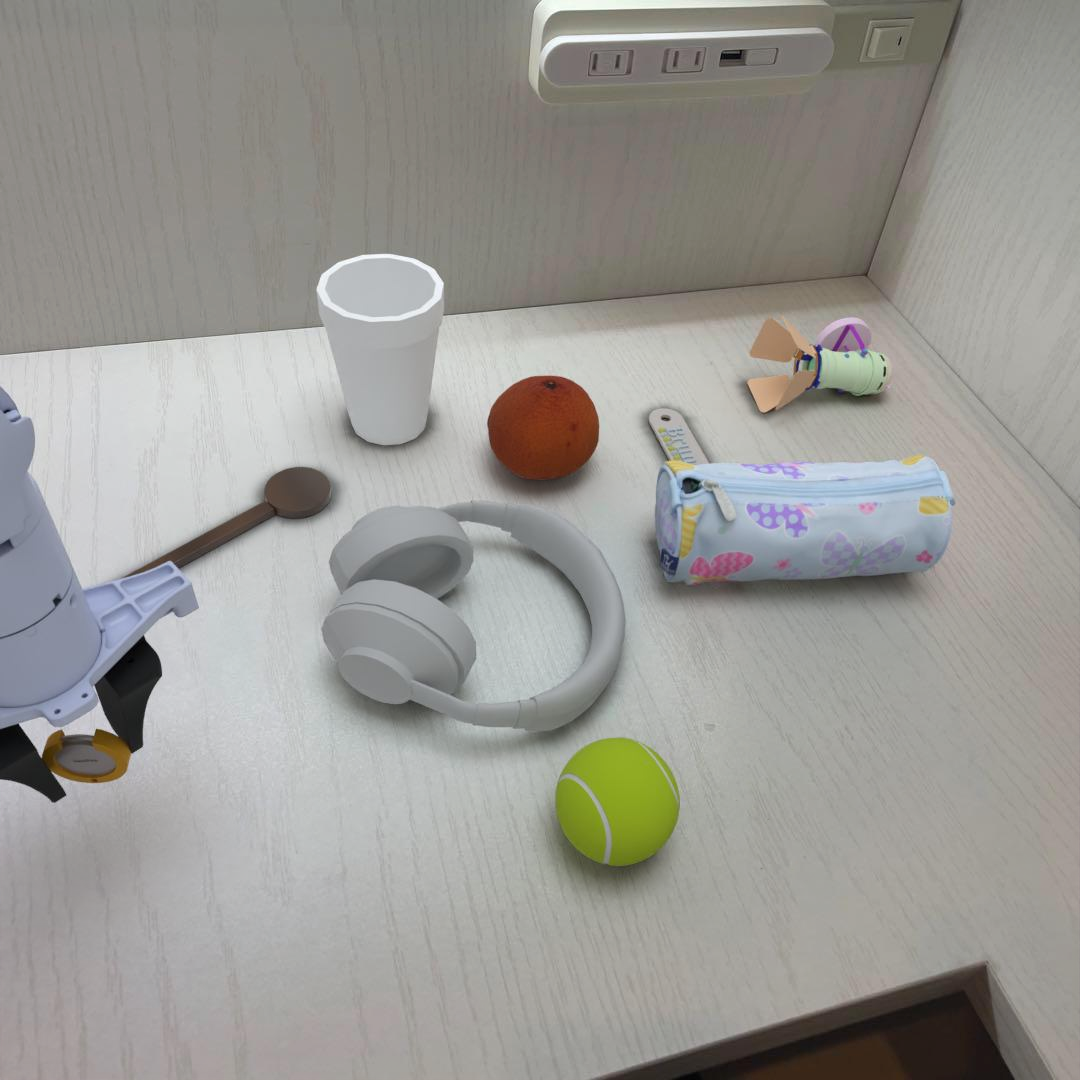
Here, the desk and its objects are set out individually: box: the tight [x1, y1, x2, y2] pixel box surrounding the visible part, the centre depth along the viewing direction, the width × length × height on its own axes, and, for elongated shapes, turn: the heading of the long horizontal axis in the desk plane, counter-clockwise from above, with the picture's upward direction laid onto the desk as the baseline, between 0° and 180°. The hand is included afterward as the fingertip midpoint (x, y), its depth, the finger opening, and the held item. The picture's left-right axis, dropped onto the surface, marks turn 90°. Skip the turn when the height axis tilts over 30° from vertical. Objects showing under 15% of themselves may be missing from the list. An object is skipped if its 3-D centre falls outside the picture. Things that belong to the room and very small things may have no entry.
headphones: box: [320, 500, 626, 733], centre depth 65 cm, size 18×8×20 cm
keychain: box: [648, 407, 710, 465], centre depth 82 cm, size 10×1×3 cm
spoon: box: [120, 466, 332, 579], centre depth 71 cm, size 20×5×1 cm, turn 135°
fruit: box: [486, 375, 600, 481], centre depth 77 cm, size 9×9×8 cm
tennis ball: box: [554, 737, 681, 867], centre depth 55 cm, size 7×7×7 cm
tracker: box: [41, 728, 132, 784], centre depth 49 cm, size 4×1×4 cm, turn 93°
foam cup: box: [315, 253, 445, 446], centre depth 78 cm, size 10×9×13 cm
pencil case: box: [654, 454, 956, 586], centre depth 70 cm, size 21×9×10 cm, turn 94°
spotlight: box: [747, 315, 894, 414], centre depth 87 cm, size 12×8×8 cm
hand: (89, 761), depth 49 cm, fingers closed on tracker, 3 cm apart
